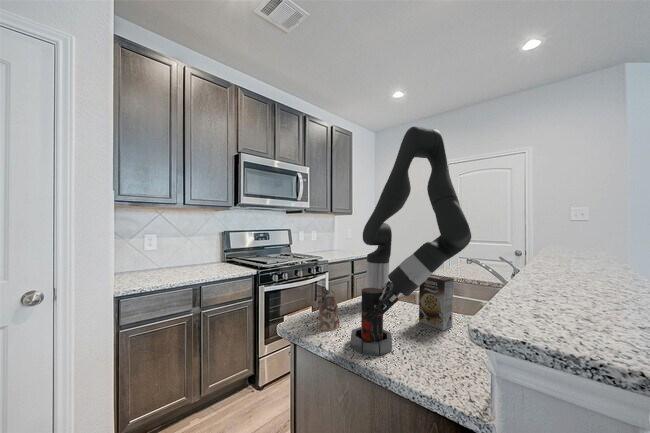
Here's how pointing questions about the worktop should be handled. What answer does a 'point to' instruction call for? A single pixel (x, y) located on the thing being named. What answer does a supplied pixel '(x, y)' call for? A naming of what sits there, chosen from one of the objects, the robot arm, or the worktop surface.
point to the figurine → (328, 312)
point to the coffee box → (436, 302)
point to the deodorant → (375, 327)
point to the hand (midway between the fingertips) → (366, 313)
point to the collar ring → (371, 343)
